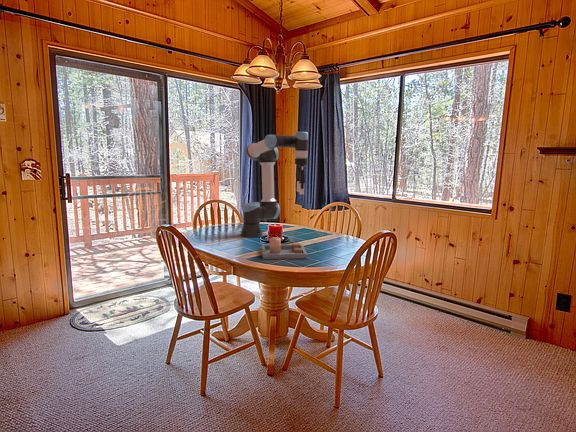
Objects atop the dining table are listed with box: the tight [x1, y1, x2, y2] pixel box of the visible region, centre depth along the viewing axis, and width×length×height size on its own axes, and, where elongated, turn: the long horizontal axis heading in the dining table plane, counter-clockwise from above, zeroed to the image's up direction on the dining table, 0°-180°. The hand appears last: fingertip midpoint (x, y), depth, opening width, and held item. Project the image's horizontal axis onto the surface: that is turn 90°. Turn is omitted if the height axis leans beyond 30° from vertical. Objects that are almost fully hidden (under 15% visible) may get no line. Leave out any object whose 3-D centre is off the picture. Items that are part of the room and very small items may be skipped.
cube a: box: [291, 243, 301, 252], centre depth 220 cm, size 4×4×4 cm
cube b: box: [294, 248, 302, 253], centre depth 210 cm, size 4×4×4 cm
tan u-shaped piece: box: [269, 236, 282, 254], centre depth 213 cm, size 6×6×9 cm
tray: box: [261, 243, 308, 260], centre depth 214 cm, size 21×25×3 cm
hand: (300, 193), depth 223 cm, fingers open, 13 cm apart
